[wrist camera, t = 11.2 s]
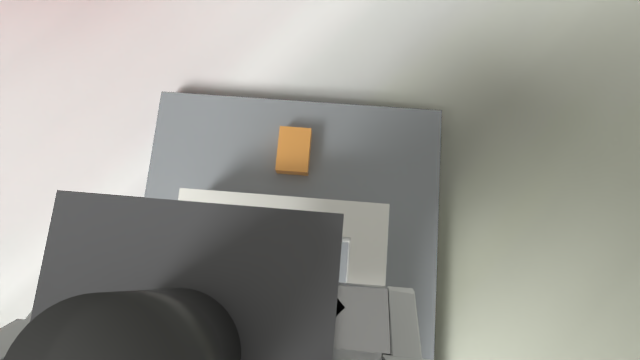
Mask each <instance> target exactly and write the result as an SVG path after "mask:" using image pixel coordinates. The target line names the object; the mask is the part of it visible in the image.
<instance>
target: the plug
mask: <svg viewBox="0 0 640 360" xmlns="http://www.w3.org/2000/svg"><path fill="white" fill-rule="evenodd" d="M343 220H344V214H340V213H328V212H316V211H304V210H291V209H279V208H267V207H255V206H243V205H231V204H218V203H206V202H194V201H182V200H170V199H157V198H145V197H133V196H121V195H109V194H97V193H84V192H72V191H60V190H57V193H56V198H55V203H54V208H53V213H52V218H51V222H50V227H49V232H48V237H47V242H46V247H45V251H44V256H43V261H42V266H41V271H40V276H39V280H38V285H37V290H36V295H35V300H34V305H33V309H32V314H31V319H30V323H28V324H27V325H26V327H25V328H24V329H23V330H22V331H21V332H20V333H19V334H18V336H17V337H16V339H15V340H14V342H13V343H12V344H11V346H10V348H9V349H8V351H7V353H6V355H5V357H4V359H3V360H333V348H334V335H335V323H336V310H337V297H338V285H339V273H340V260H341V247H342V233H343Z"/></svg>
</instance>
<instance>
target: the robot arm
mask: <svg viewBox="0 0 640 360" xmlns="http://www.w3.org/2000/svg"><path fill="white" fill-rule="evenodd" d="M31 314H32V311H31V312H30V314H29V315H28V316H27V318H26V319H16V320H15V321H13V322H11V323H9V324H7V325H6V326H4V327H2V328H0V360H3V359H4V357H5V355H6V353H7V351H8V349H9V348H10V346H11V344H12V343H13V342H14V340H15V339H16V337H17V336H18V334H19V333H20V332H21V331H22V330H23V329H24V328H25V327H26V325H27V324H28V323H30V319H31ZM333 360H430V359H423V358H422V352H421V344H420V335H419V326H418V317H417V308H416V299H415V292H414V290H413V289H412V288H403V287H391V286H388V287H386V286H379V285H366V284H354V283H341V282H339V285H338V297H337V310H336V323H335V335H334V348H333Z"/></svg>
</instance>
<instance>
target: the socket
mask: <svg viewBox="0 0 640 360" xmlns="http://www.w3.org/2000/svg"><path fill="white" fill-rule="evenodd" d="M441 119H442V110H427V109H413V108H398V107H383V106H368V105H353V104H339V103H324V102H309V101H294V100H279V99H264V98H250V97H235V96H220V95H205V94H190V93H176V92H161V98H160V104H159V110H158V117H157V123H156V129H155V135H154V141H153V148H152V154H151V160H150V166H149V172H148V178H147V185H146V191H145V198H157V199H170V200H182V201H194V202H206V203H218V204H231V205H243V206H255V207H267V208H279V209H291V210H304V211H316V212H328V213H340V214H344V220H343V233H342V247H341V260H340V273H339V282H341V283H354V284H366V285H379V286H386V287H388V286H391V287H403V288H412V289H413V290H414V292H415V299H416V308H417V317H418V326H419V335H420V344H421V352H422V358H423V359H430V360H434V345H435V313H436V280H437V248H438V216H439V184H440V151H441Z"/></svg>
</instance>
